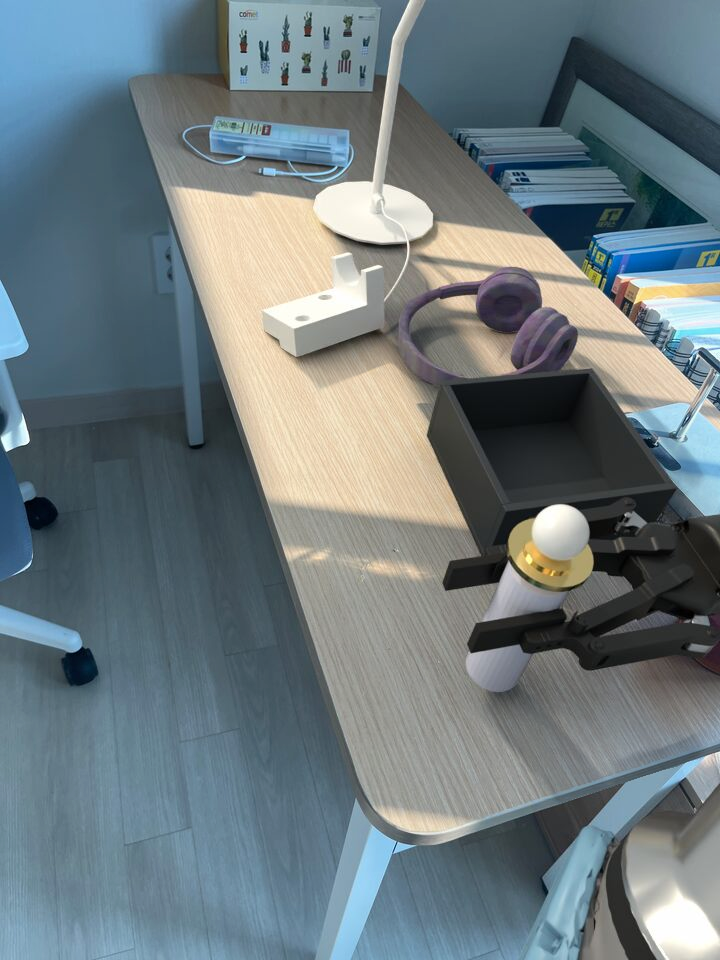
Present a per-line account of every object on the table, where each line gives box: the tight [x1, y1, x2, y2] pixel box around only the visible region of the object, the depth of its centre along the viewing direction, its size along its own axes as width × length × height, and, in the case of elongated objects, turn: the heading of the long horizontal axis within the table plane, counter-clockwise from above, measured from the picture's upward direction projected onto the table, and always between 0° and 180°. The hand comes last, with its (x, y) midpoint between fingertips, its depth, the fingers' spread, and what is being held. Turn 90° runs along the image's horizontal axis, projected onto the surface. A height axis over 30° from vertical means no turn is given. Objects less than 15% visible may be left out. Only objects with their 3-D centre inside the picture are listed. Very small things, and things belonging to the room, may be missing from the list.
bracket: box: [261, 251, 385, 358], centre depth 91 cm, size 13×7×8 cm, turn 127°
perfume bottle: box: [465, 504, 594, 693], centre depth 55 cm, size 6×6×20 cm
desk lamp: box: [312, 0, 434, 304], centre depth 92 cm, size 37×18×45 cm, turn 14°
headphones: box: [398, 266, 579, 387], centre depth 91 cm, size 18×8×20 cm
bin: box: [426, 367, 678, 556], centre depth 76 cm, size 18×18×8 cm
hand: (460, 606), depth 53 cm, fingers closed on perfume bottle, 4 cm apart
